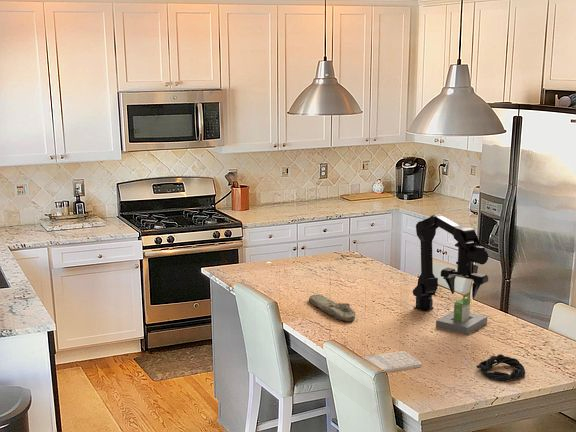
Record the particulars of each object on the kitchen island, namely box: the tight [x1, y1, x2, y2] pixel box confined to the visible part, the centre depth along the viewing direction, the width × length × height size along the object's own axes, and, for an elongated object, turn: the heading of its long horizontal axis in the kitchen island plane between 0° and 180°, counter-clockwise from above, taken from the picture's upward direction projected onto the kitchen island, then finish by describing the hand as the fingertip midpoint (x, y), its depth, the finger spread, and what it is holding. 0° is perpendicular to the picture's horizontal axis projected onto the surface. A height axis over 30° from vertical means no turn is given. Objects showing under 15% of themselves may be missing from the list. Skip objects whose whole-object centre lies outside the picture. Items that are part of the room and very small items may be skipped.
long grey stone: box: [308, 294, 356, 322], centre depth 324 cm, size 35×5×10 cm
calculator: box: [362, 350, 423, 373], centre depth 265 cm, size 13×20×2 cm, turn 111°
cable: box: [475, 354, 526, 382], centre depth 257 cm, size 17×14×4 cm
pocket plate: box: [435, 310, 488, 336], centre depth 305 cm, size 14×18×3 cm
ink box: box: [453, 291, 471, 323], centre depth 304 cm, size 7×4×13 cm, turn 140°
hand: (463, 295), depth 303 cm, fingers open, 9 cm apart
